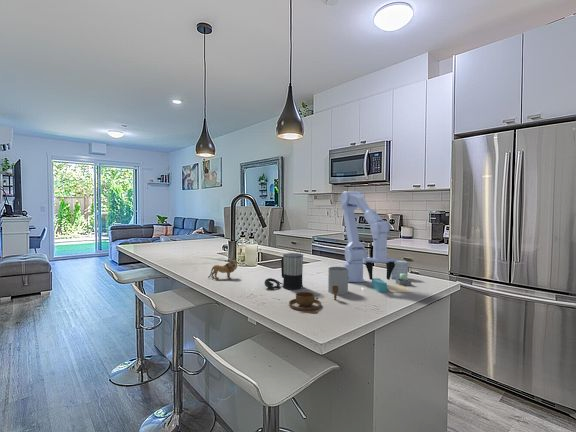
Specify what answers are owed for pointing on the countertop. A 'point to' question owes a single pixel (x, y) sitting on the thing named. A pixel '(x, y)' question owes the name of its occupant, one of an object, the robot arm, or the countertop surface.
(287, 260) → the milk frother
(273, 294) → the countertop surface
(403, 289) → the kraft paper
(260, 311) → the countertop surface
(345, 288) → the cup
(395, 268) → the medicine box
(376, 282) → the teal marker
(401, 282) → the button housing
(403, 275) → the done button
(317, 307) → the place setting
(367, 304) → the countertop surface
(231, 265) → the lion figurine
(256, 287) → the countertop surface
